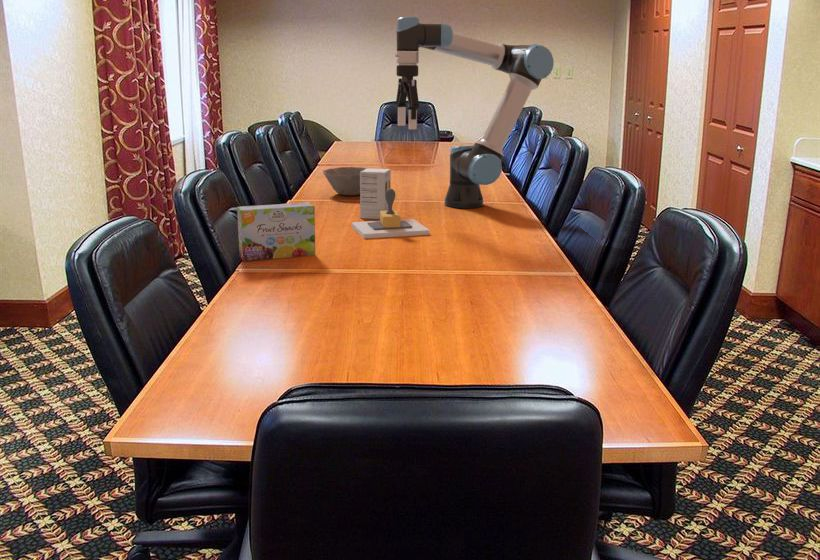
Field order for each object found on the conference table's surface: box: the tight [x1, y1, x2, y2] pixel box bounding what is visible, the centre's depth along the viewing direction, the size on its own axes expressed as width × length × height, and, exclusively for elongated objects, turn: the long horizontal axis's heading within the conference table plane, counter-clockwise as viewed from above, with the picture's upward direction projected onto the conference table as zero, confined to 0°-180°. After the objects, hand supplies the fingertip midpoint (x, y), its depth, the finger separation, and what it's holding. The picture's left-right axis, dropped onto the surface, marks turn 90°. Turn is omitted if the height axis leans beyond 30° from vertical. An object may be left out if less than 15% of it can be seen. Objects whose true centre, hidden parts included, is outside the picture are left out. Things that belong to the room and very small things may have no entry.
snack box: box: [236, 202, 316, 262], centre depth 215 cm, size 21×6×15 cm, turn 114°
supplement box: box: [359, 168, 392, 220], centre depth 269 cm, size 10×9×17 cm
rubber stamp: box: [379, 188, 401, 228], centre depth 248 cm, size 10×6×12 cm, turn 8°
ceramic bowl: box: [322, 166, 370, 196], centre depth 313 cm, size 22×23×10 cm
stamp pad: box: [350, 218, 430, 240], centre depth 250 cm, size 22×18×2 cm
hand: (407, 127), depth 264 cm, fingers open, 13 cm apart
